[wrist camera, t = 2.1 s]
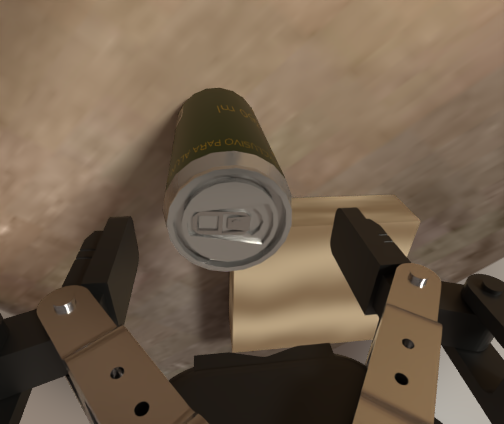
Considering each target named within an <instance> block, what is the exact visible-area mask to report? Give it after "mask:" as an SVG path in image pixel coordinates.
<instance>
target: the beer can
mask: <svg viewBox="0 0 504 424" xmlns="http://www.w3.org/2000/svg"><path fill="white" fill-rule="evenodd" d="M291 201H292V195H291V192H290V190H289V187H288V184H287V181H286V179H285V177H284V175H283V173H282V170H281V168H280V166H279V164H278V162H277V160H276V158H275V156H274V154H273V152H272V150H271V148H270V145H269V143H268V141H267V139H266V137H265V135H264V133H263V131H262V129H261V127H260V125H259V123H258V120H257V118H256V116H255V114H254V112H253V110H252V108H251V107H250V105H249V104H248V103H247V102H246V101H245V99H244V98H243V97H241V96H239V95H238V94H236V93H235V92H233V91H230V90H226V89H222V88H211V89H205V90H202V91H200V92H198V93H195V94H194V95H192V96H191V97H190V98H189V99H188V100H187V101H186V102H185V103H184V104H183V106H182V108H181V110H180V112H179V114H178V119H177V125H176V131H175V137H174V143H173V149H172V155H171V161H170V167H169V173H168V179H167V185H166V191H165V198H164V204H163V214H164V218H165V222H166V226H167V228H168V233H169V237H170V241H171V242H172V243H173V245H174V246H175V248H176V249H177V251H178V252H179V254H181V255H182V256H183V257H185V258H186V259H187V260H189V261H190V262H191V263H193V264H195V265H197V266H200V267H203V268H205V269H208V270H215V271H224V272H229V271H237V270H244V269H247V268H250V267H252V266H255V265H258V264H260V263H262V262H264V261H265V260H266V259H268V258H269V257H271V256H272V255H274V254H275V253H276V252H277V251H278V249H279V248H280V247H281V246H282V244H283V243H284V242H285V241H286V239H287V236H288V233H289V231H290V228H291V226H292V209H291Z"/></svg>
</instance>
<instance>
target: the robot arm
mask: <svg viewBox="0 0 504 424" xmlns="http://www.w3.org/2000/svg"><path fill="white" fill-rule="evenodd" d="M330 248H331V252H332V255H333V257H334V258H335V260H336V262H337V264H338V266H339V268H340V270H341V272H342V273H343V275H344V277H345V279H346V281H347V283H348V285H349V287H350V288H351V290H352V292H353V294H354V296H355V298H356V300H357V302H358V303H359V305H360V307H361V309H362V311H363V313H364V315H374V314H377V315H378V317H379V321H378V324H377V327H376V330H375V333H374V337H373V340H372V343H371V346H370V350H369V353H368V356H367V360H366V363H365V365H364V364H362V363H360V362H358V361H356V360H354V359H352V358H349V357H346V356H342V355H339V354H334V353H333V351H332V348H331V346H330V343H321V344H311V345H301V346H296V347H293V348H290V349H287V350H284V351H282V352H279V353H276V354H273V355H271V356H267V357H258V356H251V355H244V354H236V353H229V352H228V353H218V354H208V355H197V356H194V367H193V368H190V369H187V370H185V371H183V372H181V373H179V374H178V375H176V376H174V377H173V378H171V379H170V380H169V381H168V379H167V378H166V377H165V376H164V374H163V373H162V372H161V371H160V369H159V368H158V367H157V366H156V364H155V363H154V362H153V361H152V360H151V358H150V357H149V356H148V355H147V353H146V352H145V351H144V350H143V348H142V347H141V346H140V345H139V343H138V342H137V341H136V340H135V338H134V337H133V336H132V335H131V333H130V332H129V331H128V330H127V328H126V327H125V326H124V322H125V318H126V314H127V310H128V305H129V301H130V297H131V293H132V289H133V284H134V280H135V276H136V272H137V267H138V261H139V253H138V246H137V240H136V235H135V230H134V224H133V220H132V217H131V216H124V217H110V218H109V219H108V221H107V224H106V226H105V228H104V231H94V232H93V233H92V234H91V235H90V236H89V237H87V238H86V239H85V240H84V242H83V245H82V247H81V249H80V251H79V253H78V255H77V257H76V260H75V261H74V263H73V265H72V267H71V269H70V271H69V273H68V275H67V277H66V279H65V281H64V283H63V285H62V287H61V288H59V289H56V290H54V291H52V292H51V293H49V294H48V295H46V296H45V297H44V298H43V299H42V300H41V301H40V303H39V304H38V306H37V309H35V310H32V311H29V312H26V313H23V314H19V315H16V316H13V317H9V318H6V319H3V317H2V316H1V314H0V424H19V423H20V420H21V417H22V415H23V412H24V409H25V407H26V404H27V401H28V398H29V396H30V393H31V390H32V388H33V387H36V386H39V385H42V384H44V383H47V382H50V381H52V380H55V379H57V378H60V377H63V376H65V378H66V380H67V381H68V383H69V385H70V387H71V389H72V391H73V392H74V394H75V396H76V398H77V400H78V402H79V403H80V405H81V407H82V409H83V411H84V413H85V415H86V416H87V418H88V420H89V422H90V424H443V423H441V422H440V421H439V420H437V419H436V418H435V417H434V414H435V403H436V392H437V380H438V370H439V360H440V348H441V345H442V347H443V348H444V350H445V352H446V353H447V354H448V356H449V358H450V359H451V361H452V362H453V364H454V365H455V367H456V369H457V370H458V372H459V373H460V375H461V376H462V378H463V380H464V381H465V383H466V384H467V386H468V387H469V389H470V390H471V392H472V394H473V395H474V397H475V398H476V400H477V401H478V403H479V404H480V406H481V408H482V409H483V411H484V412H485V414H486V415H487V417H488V419H489V420H490V422H491V423H492V424H504V360H503V358H502V357H501V356H500V355H499V353H498V352H497V351H496V350H495V348H494V347H493V346H492V344H491V341H492V340H493V338H494V337H495V339H496V340H497V341H498V342H499V344H500V345H501V346H502V347H503V348H504V282H503V281H501V280H499V279H497V278H494V277H491V276H489V275H484V274H473V275H470V276H469V277H468V278H467V280H466V282H465V284H464V285H462V284H455V283H449V282H443V281H441V280H440V278H439V277H438V276H437V274H435V273H434V272H433V271H432V270H430V269H428V268H427V267H424V266H422V265H419V264H414V263H411V262H410V261H409V260H408V258H407V257H406V256H405V255H404V254H403V252H402V251H401V250H400V249H399V247H398V246H397V245H396V244H395V243H394V242H393V240H392V239H391V238H390V236H389V235H387V233H386V232H385V230H384V229H383V228H382V227H381V226H380V225H379V224H377V223H376V222H374V221H373V220H371V219H366V218H365V216H364V215H363V214H362V213H361V211H360V210H359V209H358V208H357V207H351V208H338V209H337V210H336V213H335V218H334V223H333V228H332V233H331V239H330Z"/></svg>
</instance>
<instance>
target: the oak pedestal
mask: <svg viewBox="0 0 504 424" xmlns="http://www.w3.org/2000/svg"><path fill="white" fill-rule="evenodd" d="M351 207H357V208H358V209H359V210H360V211H361V213H362V214H363V215H364V216H365V218H366V219H371V220H373V221H374V222H376V223H377V224H379V225H380V226H381V227H382V228H383V229H384V230H385V232H386V233H387V235H389V236H390V238H391V239H392V240H393V242H394V243H395V244H396V245H397V246H398V247H399V249H400V250H401V251H402V252H403V254H404V255H405V256H406V257H407V255H408V252H409V250H410V247H411V245H412V242H413V240H414V237H415V234H416V232H417V229H418V227H419V224H420V220H419V219H418V218H417V217H416V216H415V215H414V214H413V213H412V212H411V211H410V210H409V209H408V208H407V207H406V206H405V205H404V204H403V203H402V202H401V201H400V200H399V199H398V198H397V197H396V196H395V195H370V196H338V197H307V198H292V201H291V209H292V226H291V228H290V231H289V233H288V236H287V239H286V241H285V242H284V243H283V244H282V246H281V247H280V248H279V249H278V251H277V252H276V253H275V254H274V255H272V256H271V257H269V258H268V259H266V260H265V261H264V262H262V263H260V264H258V265H255V266H252V267H250V268H247V269H244V270H237V271H230V277H229V322H230V333H231V343H232V353H235V352H246V351H256V350H267V349H277V348H288V347H296V346H301V345H311V344H321V343H340V342H350V341H361V340H372V339H373V337H374V333H375V330H376V327H377V324H378V321H379V317H378V315H377V314H374V315H364V313H363V311H362V309H361V307H360V305H359V303H358V302H357V300H356V298H355V296H354V294H353V292H352V290H351V288H350V287H349V285H348V283H347V281H346V279H345V277H344V275H343V273H342V272H341V270H340V268H339V266H338V264H337V262H336V260H335V258H334V257H333V255H332V252H331V248H330V239H331V233H332V228H333V223H334V218H335V213H336V210H337V209H338V208H351Z"/></svg>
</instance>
